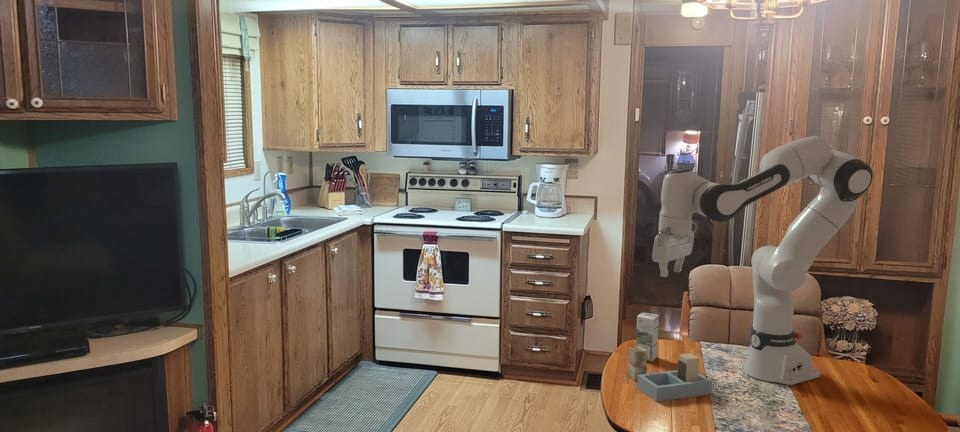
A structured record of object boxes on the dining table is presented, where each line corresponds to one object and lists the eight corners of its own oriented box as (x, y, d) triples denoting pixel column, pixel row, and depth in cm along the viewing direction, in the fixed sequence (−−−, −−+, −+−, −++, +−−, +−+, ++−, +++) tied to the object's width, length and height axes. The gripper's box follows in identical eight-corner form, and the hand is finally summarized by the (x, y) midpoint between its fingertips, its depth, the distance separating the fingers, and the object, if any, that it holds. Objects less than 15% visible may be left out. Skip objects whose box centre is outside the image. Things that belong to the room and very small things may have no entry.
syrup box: (657, 357, 223) (659, 314, 221) (651, 362, 218) (653, 318, 216) (640, 353, 226) (642, 311, 224) (634, 358, 221) (636, 315, 219)
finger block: (639, 374, 208) (641, 346, 207) (646, 379, 204) (648, 350, 203) (627, 375, 207) (628, 347, 205) (634, 380, 203) (635, 351, 202)
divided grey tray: (689, 381, 203) (691, 349, 202) (710, 394, 194) (713, 360, 192) (636, 387, 198) (638, 355, 196) (656, 401, 188) (657, 367, 187)
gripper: (670, 231, 182) (666, 281, 184) (699, 224, 198) (695, 270, 200) (648, 228, 186) (644, 277, 188) (678, 221, 202) (674, 267, 204)
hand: (670, 274), depth 194 cm, fingers open, 8 cm apart
